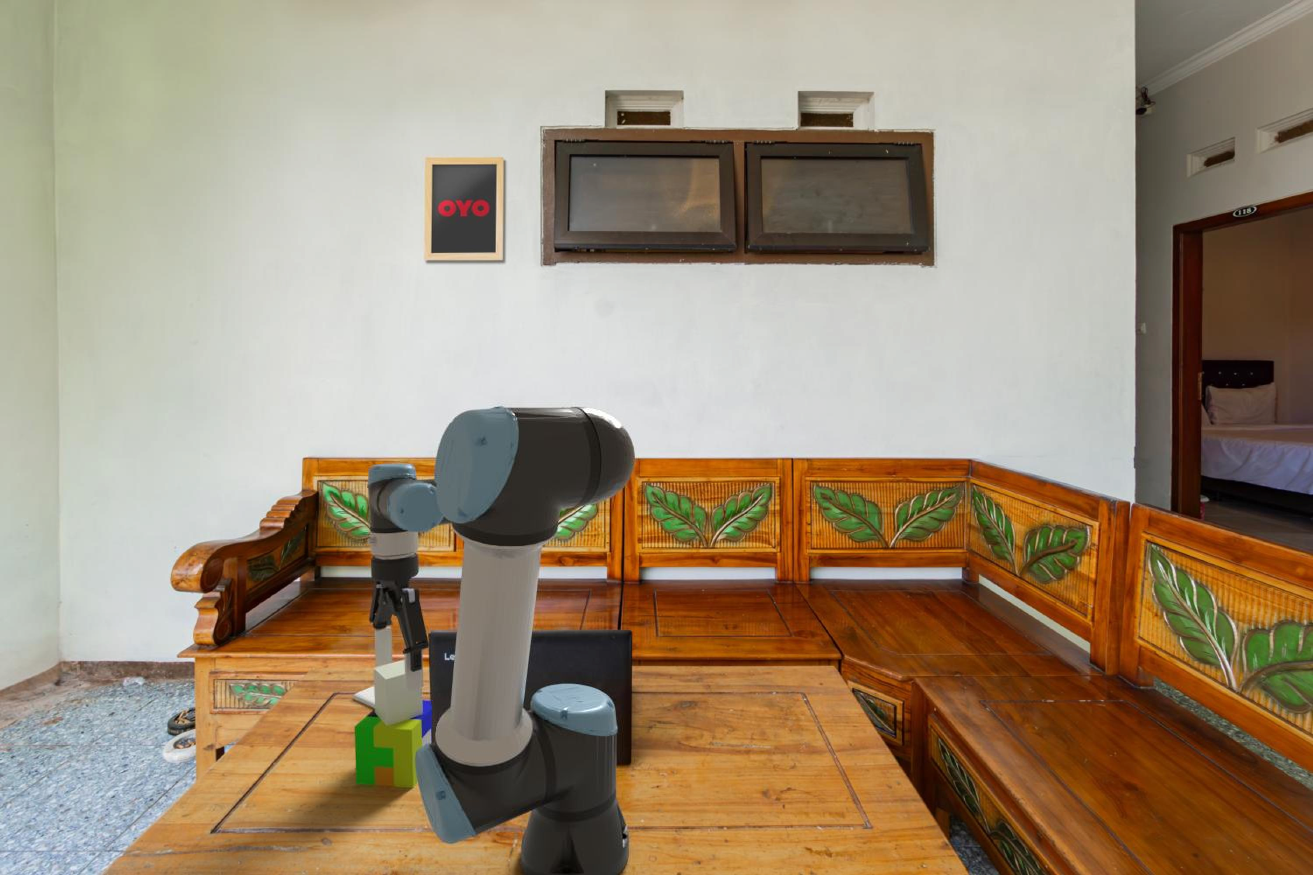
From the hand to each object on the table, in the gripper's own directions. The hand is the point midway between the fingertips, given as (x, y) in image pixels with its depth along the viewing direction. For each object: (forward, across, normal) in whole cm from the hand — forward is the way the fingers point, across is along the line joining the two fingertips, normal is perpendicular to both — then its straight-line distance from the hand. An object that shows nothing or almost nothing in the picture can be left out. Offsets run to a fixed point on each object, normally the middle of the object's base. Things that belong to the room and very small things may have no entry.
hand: (398, 675), depth 109 cm
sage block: (+7, 0, 0) cm, 7 cm away
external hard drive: (+17, -28, +8) cm, 34 cm away
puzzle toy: (+17, 0, 0) cm, 17 cm away
